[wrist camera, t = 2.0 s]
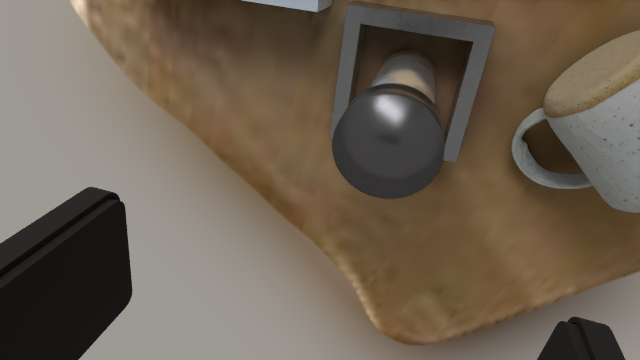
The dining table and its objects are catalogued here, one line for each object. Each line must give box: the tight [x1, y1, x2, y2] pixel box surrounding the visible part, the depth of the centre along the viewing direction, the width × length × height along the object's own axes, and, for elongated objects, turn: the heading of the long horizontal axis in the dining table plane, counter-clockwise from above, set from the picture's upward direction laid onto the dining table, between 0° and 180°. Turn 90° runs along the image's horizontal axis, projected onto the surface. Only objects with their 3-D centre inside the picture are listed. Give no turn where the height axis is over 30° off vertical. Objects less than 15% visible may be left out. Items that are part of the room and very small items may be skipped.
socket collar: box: [330, 1, 496, 163], centre depth 30 cm, size 9×9×2 cm
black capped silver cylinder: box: [332, 49, 445, 199], centre depth 25 cm, size 5×5×13 cm
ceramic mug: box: [512, 30, 640, 213], centre depth 26 cm, size 11×8×8 cm
